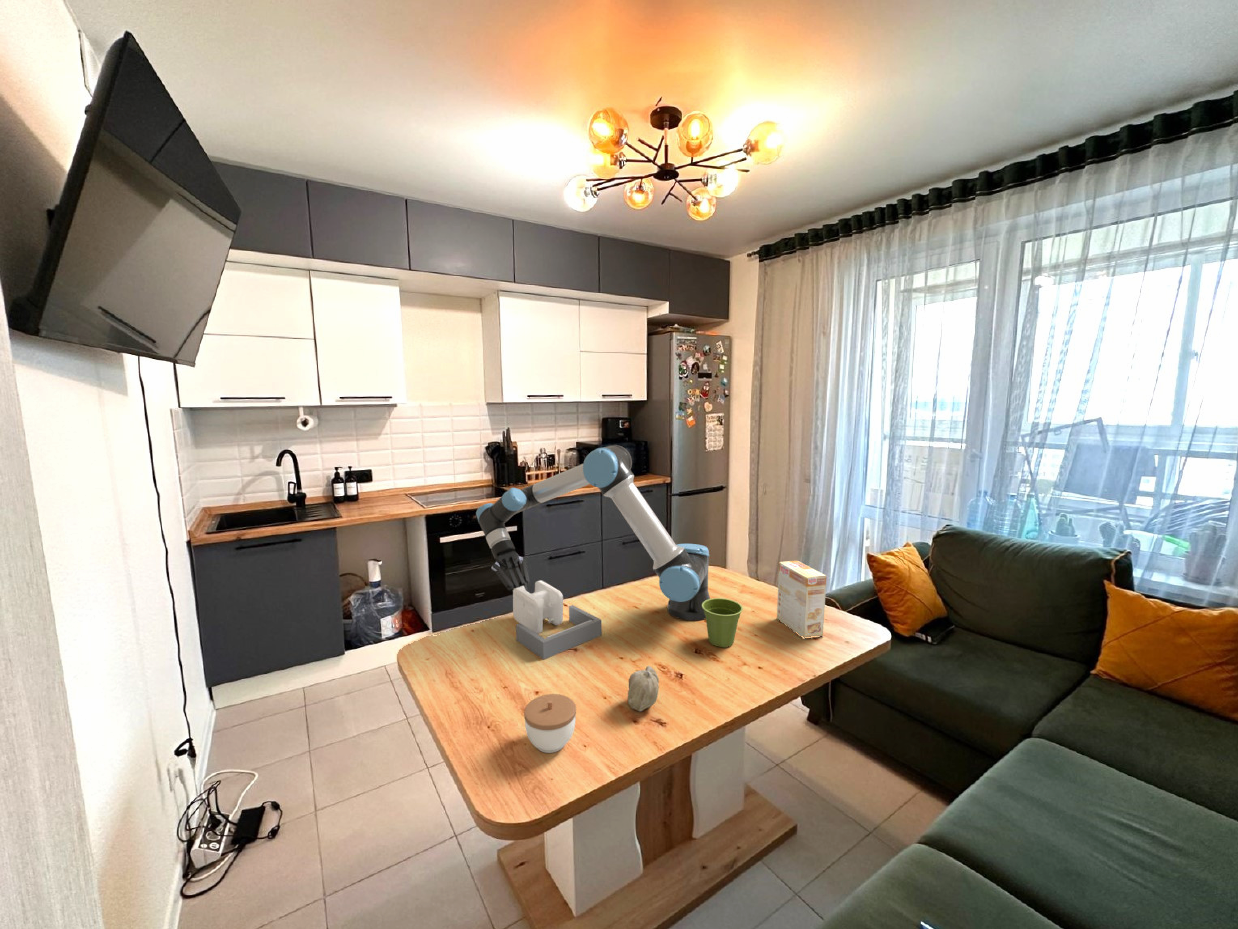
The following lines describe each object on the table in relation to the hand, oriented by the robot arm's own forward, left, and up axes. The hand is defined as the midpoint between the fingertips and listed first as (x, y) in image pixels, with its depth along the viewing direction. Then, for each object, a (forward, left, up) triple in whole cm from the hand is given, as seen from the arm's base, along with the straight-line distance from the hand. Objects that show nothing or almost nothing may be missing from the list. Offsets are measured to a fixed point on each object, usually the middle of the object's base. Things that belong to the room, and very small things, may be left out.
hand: (527, 605), depth 160 cm
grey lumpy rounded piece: (-57, +4, -5) cm, 57 cm away
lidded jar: (-53, +27, -5) cm, 60 cm away
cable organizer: (-5, -1, -5) cm, 7 cm away
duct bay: (-16, -1, -5) cm, 17 cm away
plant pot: (-51, -35, -5) cm, 62 cm away
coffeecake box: (-62, -61, -5) cm, 87 cm away
